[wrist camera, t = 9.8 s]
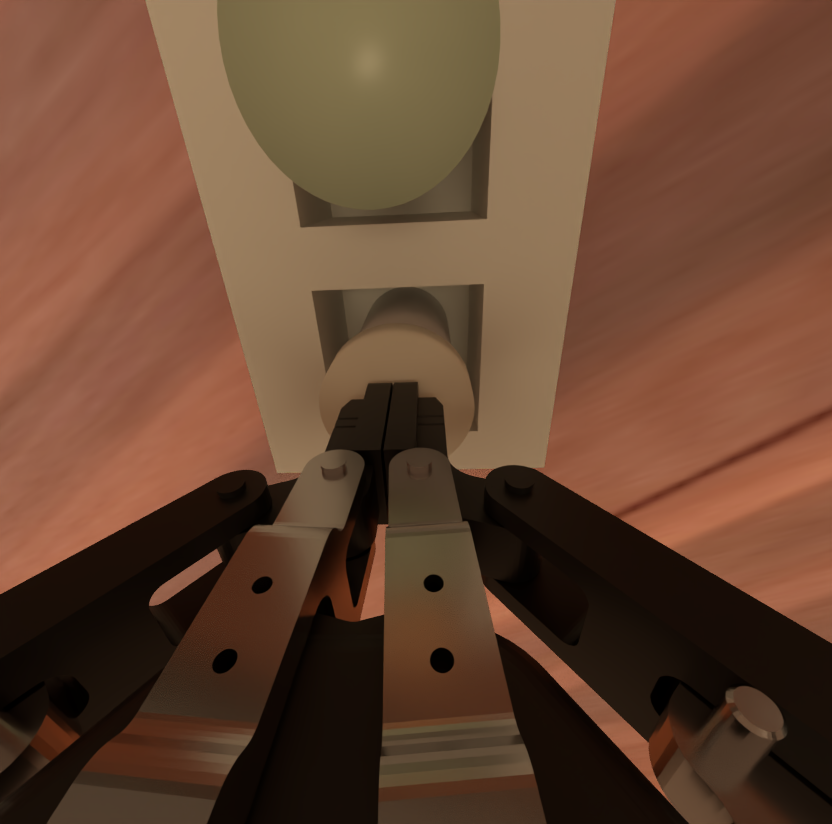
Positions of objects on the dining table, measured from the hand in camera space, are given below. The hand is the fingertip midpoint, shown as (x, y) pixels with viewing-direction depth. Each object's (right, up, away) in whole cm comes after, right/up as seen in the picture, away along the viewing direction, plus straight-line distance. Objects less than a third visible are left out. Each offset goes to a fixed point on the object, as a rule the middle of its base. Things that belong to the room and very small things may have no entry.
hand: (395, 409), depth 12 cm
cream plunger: (0, +4, +7) cm, 8 cm away
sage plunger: (0, +10, +2) cm, 10 cm away
